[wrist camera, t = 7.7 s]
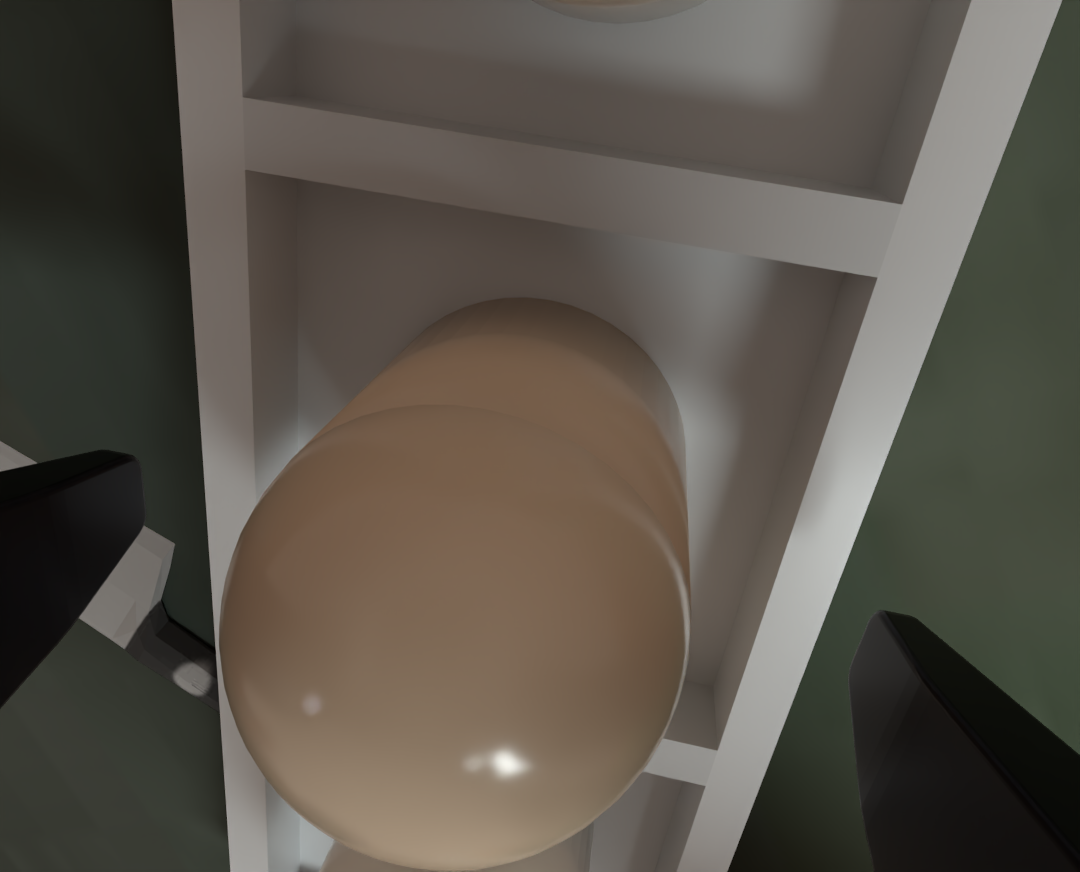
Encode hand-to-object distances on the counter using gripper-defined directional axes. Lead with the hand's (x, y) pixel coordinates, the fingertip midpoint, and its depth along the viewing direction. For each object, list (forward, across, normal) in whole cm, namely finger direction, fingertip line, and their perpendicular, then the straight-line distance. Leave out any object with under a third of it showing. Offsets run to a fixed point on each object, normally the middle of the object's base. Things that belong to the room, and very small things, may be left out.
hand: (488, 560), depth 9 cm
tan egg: (+3, 0, 0) cm, 3 cm away
